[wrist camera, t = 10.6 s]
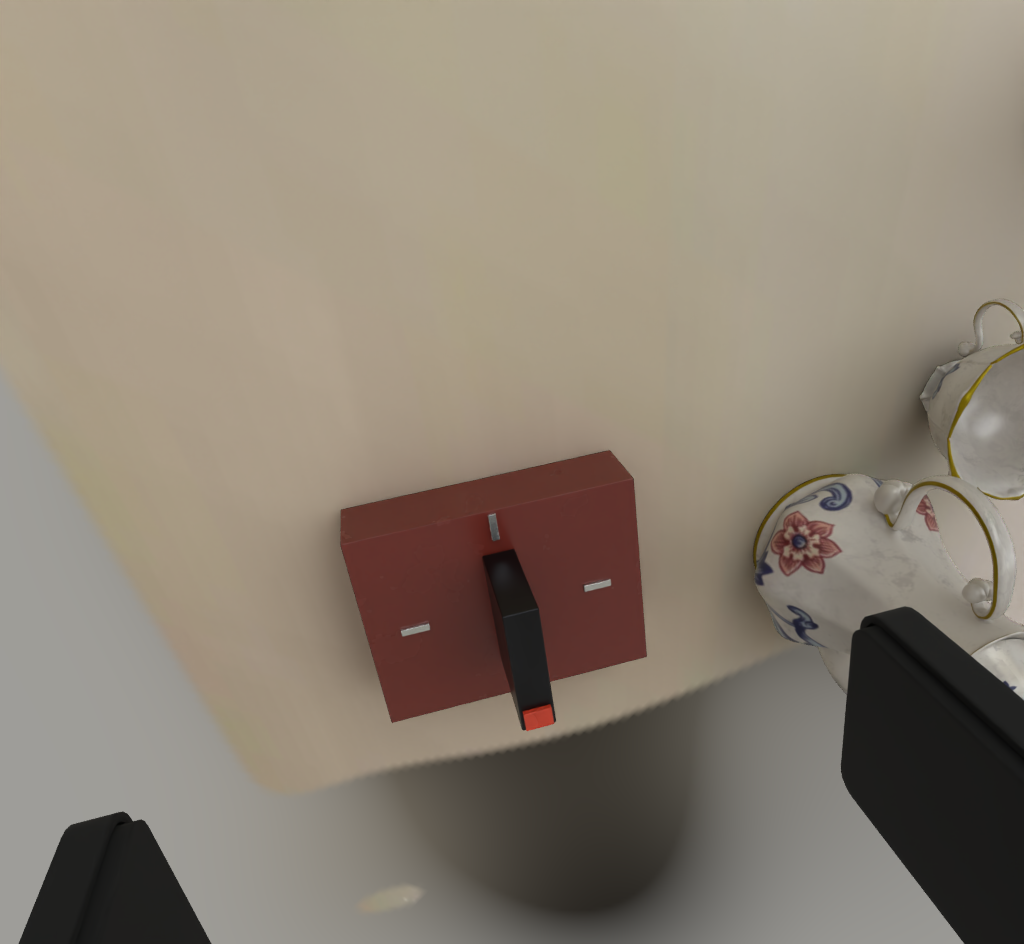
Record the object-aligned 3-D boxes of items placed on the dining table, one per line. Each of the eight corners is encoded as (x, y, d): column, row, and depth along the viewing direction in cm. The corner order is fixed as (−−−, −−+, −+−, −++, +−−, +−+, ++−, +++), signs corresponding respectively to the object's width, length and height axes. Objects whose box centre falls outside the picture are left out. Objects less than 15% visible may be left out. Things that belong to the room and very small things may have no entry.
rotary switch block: (609, 449, 38) (635, 479, 35) (625, 618, 43) (648, 658, 39) (340, 509, 36) (340, 546, 33) (388, 678, 41) (392, 725, 38)
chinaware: (928, 668, 52) (1185, 868, 38) (723, 740, 48) (921, 993, 34) (1001, 272, 40) (1421, 344, 26) (734, 327, 36) (1052, 448, 22)
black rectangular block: (481, 555, 35) (503, 620, 30) (514, 547, 35) (540, 611, 30) (501, 661, 38) (523, 735, 33) (531, 653, 38) (558, 726, 33)
